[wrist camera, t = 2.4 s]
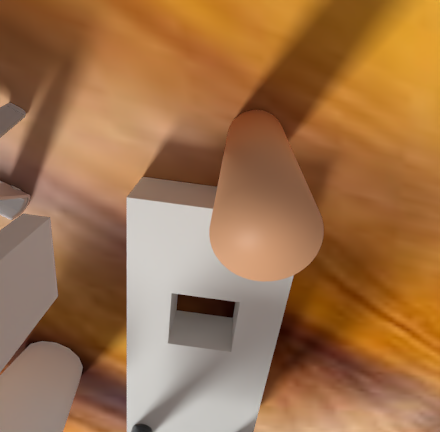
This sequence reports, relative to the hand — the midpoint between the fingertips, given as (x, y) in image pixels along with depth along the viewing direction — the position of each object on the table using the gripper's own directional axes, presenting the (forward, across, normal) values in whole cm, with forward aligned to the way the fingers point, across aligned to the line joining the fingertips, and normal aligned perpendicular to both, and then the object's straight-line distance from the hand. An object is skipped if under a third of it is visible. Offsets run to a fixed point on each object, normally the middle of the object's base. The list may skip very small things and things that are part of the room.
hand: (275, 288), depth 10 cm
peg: (+17, 0, 0) cm, 17 cm away
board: (+17, -2, -17) cm, 24 cm away
